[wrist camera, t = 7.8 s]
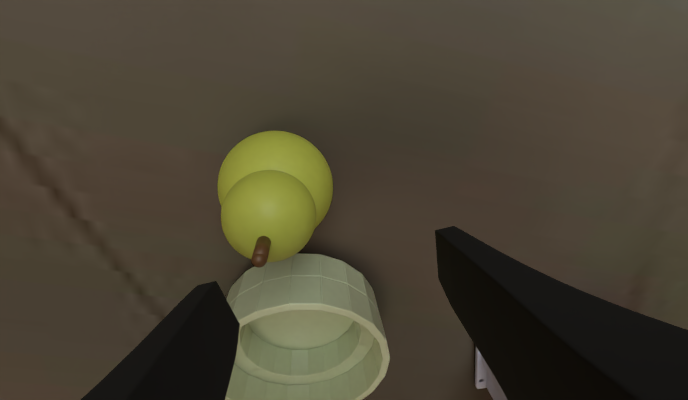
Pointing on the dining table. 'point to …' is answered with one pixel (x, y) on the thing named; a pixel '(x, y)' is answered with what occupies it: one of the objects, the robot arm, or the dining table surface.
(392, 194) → the dining table surface
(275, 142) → the pear
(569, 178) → the dining table surface
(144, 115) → the dining table surface
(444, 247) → the robot arm
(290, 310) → the bowl
